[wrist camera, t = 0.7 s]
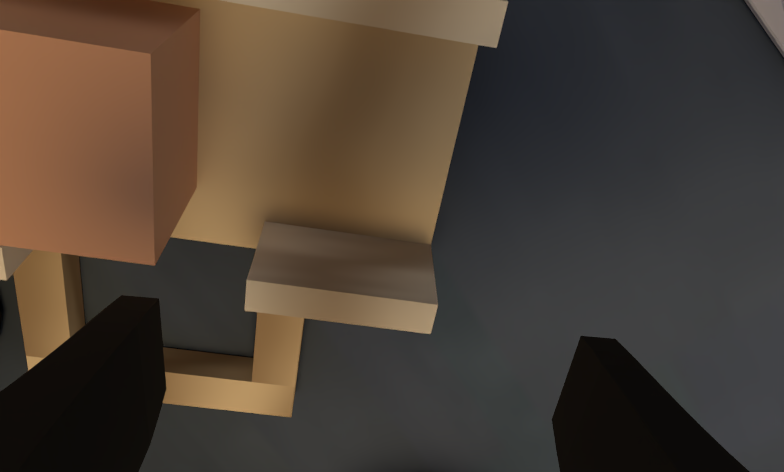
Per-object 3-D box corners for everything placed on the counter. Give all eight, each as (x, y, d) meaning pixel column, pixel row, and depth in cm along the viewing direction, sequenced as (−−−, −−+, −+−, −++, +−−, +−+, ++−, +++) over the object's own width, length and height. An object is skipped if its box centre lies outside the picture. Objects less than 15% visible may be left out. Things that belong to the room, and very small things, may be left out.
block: (200, 9, 16) (150, 54, 13) (196, 187, 19) (154, 265, 15) (-13, -28, 16) (-124, 9, 12) (14, 161, 18) (-72, 236, 15)
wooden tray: (486, -26, 17) (514, 10, 13) (386, 403, 25) (387, 499, 21) (-245, -161, 15) (-441, -161, 11) (-101, 347, 23) (-189, 441, 19)
